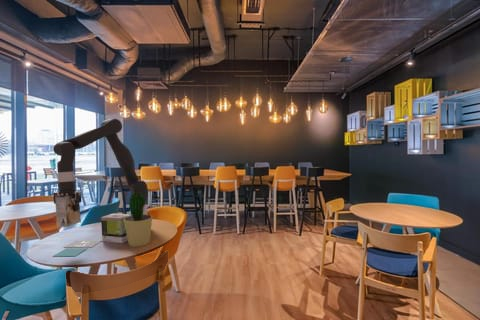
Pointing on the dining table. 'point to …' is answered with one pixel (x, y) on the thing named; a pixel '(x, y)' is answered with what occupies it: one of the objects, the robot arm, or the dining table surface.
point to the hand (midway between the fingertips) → (68, 211)
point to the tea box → (114, 228)
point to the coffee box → (66, 211)
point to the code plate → (82, 244)
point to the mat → (70, 252)
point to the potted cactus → (138, 222)
